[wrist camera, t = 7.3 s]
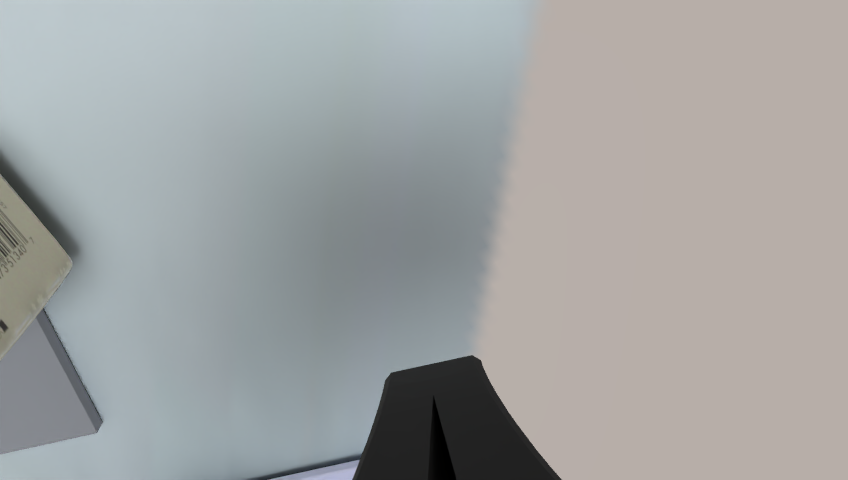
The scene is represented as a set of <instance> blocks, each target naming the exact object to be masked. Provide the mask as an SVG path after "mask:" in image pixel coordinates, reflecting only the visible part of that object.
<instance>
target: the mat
mask: <svg viewBox="0 0 848 480" xmlns="http://www.w3.org/2000/svg"><path fill="white" fill-rule="evenodd" d="M101 424H102V421H101V419H100V417H99V415H98V413H97V411H96V409H95V407H94V405H93V404H92V402H91V400H90V398H89V396H88V394H87V392H86V390H85V388H84V386H83V384H82V383H81V381H80V379H79V377H78V375H77V373H76V371H75V369H74V367H73V365H72V364H71V362H70V360H69V358H68V356H67V354H66V352H65V350H64V348H63V346H62V345H61V343H60V341H59V339H58V337H57V335H56V333H55V331H54V329H53V327H52V326H51V324H50V322H49V320H48V318H47V316H46V314H45V312H44V310H43V309H42V310H41V311H40V313H39V314H38V315H37V316H36V318H35V319H34V320H33V321H32V323H31V324H30V325H29V326H28V328H27V329H26V330H25V331H24V333H23V334H22V335H21V336H20V338H19V339H18V340H17V341H16V343H15V344H14V345H13V346H12V347H11V349H10V350H9V351H8V352H7V353H6V355H5V356H4V357H3V358H2V359H1V360H0V454H4V453H9V452H13V451H18V450H22V449H27V448H31V447H36V446H40V445H45V444H49V443H54V442H58V441H63V440H67V439H72V438H76V437H81V436H85V435H90V434H94V433H97V432H98V430H99V428H100V426H101Z"/></svg>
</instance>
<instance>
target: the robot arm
mask: <svg viewBox="0 0 848 480" xmlns="http://www.w3.org/2000/svg"><path fill="white" fill-rule="evenodd" d="M269 480H561V478H560V477H559V476H558V475H557V474H556V473H555V472H554V471H553V469H552V468H551V467H550V466H549V465H548V463H547V462H546V461H545V460H544V459H543V457H542V456H541V455H540V454H539V453H538V451H537V450H536V449H535V447H534V446H533V445H532V443H531V442H530V441H529V439H528V438H527V437H526V435H525V434H524V433H523V432H522V430H521V429H520V428H519V426H518V425H517V424H516V422H515V421H514V419H513V418H512V417H511V415H510V414H509V413H508V411H507V409H506V408H505V406H504V404H503V403H502V401H501V400H500V398H499V397H498V395H497V393H496V392H495V390H494V388H493V386H492V385H491V383H490V381H489V379H488V377H487V375H486V373H485V370H484V368H483V366H482V362H481V360H479V359H478V358H476V357H474V356H473V355H471V356H466V357H462V358H457V359H452V360H448V361H443V362H439V363H434V364H429V365H425V366H420V367H416V368H411V369H406V370H402V371H397V372H392V373H391V374H390V375H389V376H388V378H387V379H386V380H385V384H384V389H383V393H382V397H381V400H380V404H379V407H378V410H377V414H376V417H375V420H374V423H373V426H372V429H371V432H370V435H369V438H368V440H367V443H366V446H365V448H364V451H363V453H362V456H361V458H360V460H356V461H351V462H347V463H342V464H338V465H333V466H328V467H324V468H319V469H315V470H310V471H306V472H301V473H297V474H292V475H287V476H283V477H278V478H274V479H269Z"/></svg>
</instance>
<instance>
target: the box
mask: <svg viewBox="0 0 848 480" xmlns="http://www.w3.org/2000/svg"><path fill="white" fill-rule="evenodd" d="M72 264H73V263H72V260H71V258H70V257H69V256H68V254H67V253H66V252H65V251H64V249H63V248H62V247H61V245H60V244H59V243H58V242H57V240H56V239H55V238H54V237H53V235H52V234H51V233H50V232H49V231H48V230H47V229H46V228H45V226H44V225H43V224H42V223H41V222H40V220H39V219H38V218H37V217H36V215H35V214H34V213H33V212H32V211H31V209H30V208H29V207H28V206H27V205H26V204H25V202H24V201H23V200H22V199H21V198H20V197H19V195H18V194H17V193H16V192H15V191H14V189H13V188H12V187H11V186H10V185H9V183H8V182H7V181H6V180H5V179H4V178H3V177H2V175H1V174H0V360H1V359H2V358H3V357H4V356H5V355H6V353H7V352H8V351H9V350H10V349H11V347H12V346H13V345H14V344H15V343H16V341H17V340H18V339H19V338H20V336H21V335H22V334H23V333H24V331H25V330H26V329H27V328H28V326H29V325H30V324H31V323H32V321H33V320H34V319H35V318H36V316H37V315H38V314H39V313H40V311H41V310H42V309H43V307H44V306H45V305H46V303H47V302H48V301H49V299H50V298H51V297H52V295H53V294H54V293H55V291H56V290H57V289H58V287H59V286H60V285H61V283H62V282H63V280H64V279H65V277H66V276H67V274H68V273H69V271H70V270H71V268H72Z"/></svg>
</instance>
